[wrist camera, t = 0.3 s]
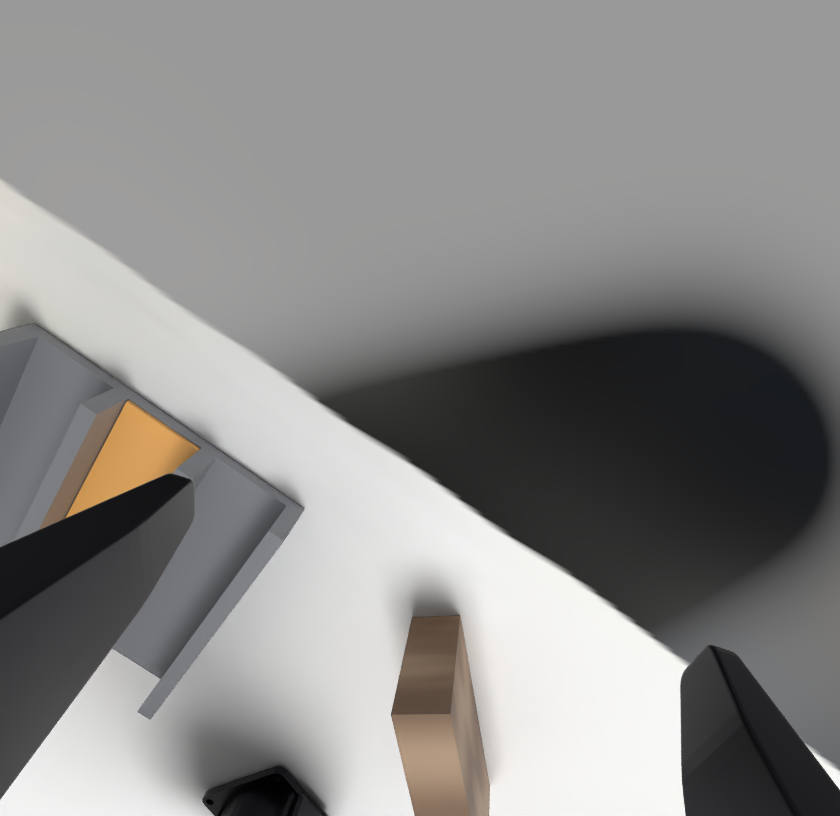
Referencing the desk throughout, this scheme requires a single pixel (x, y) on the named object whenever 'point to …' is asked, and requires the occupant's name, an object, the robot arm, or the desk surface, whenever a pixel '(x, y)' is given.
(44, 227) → the desk surface
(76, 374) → the rack
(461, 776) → the panel
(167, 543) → the robot arm
